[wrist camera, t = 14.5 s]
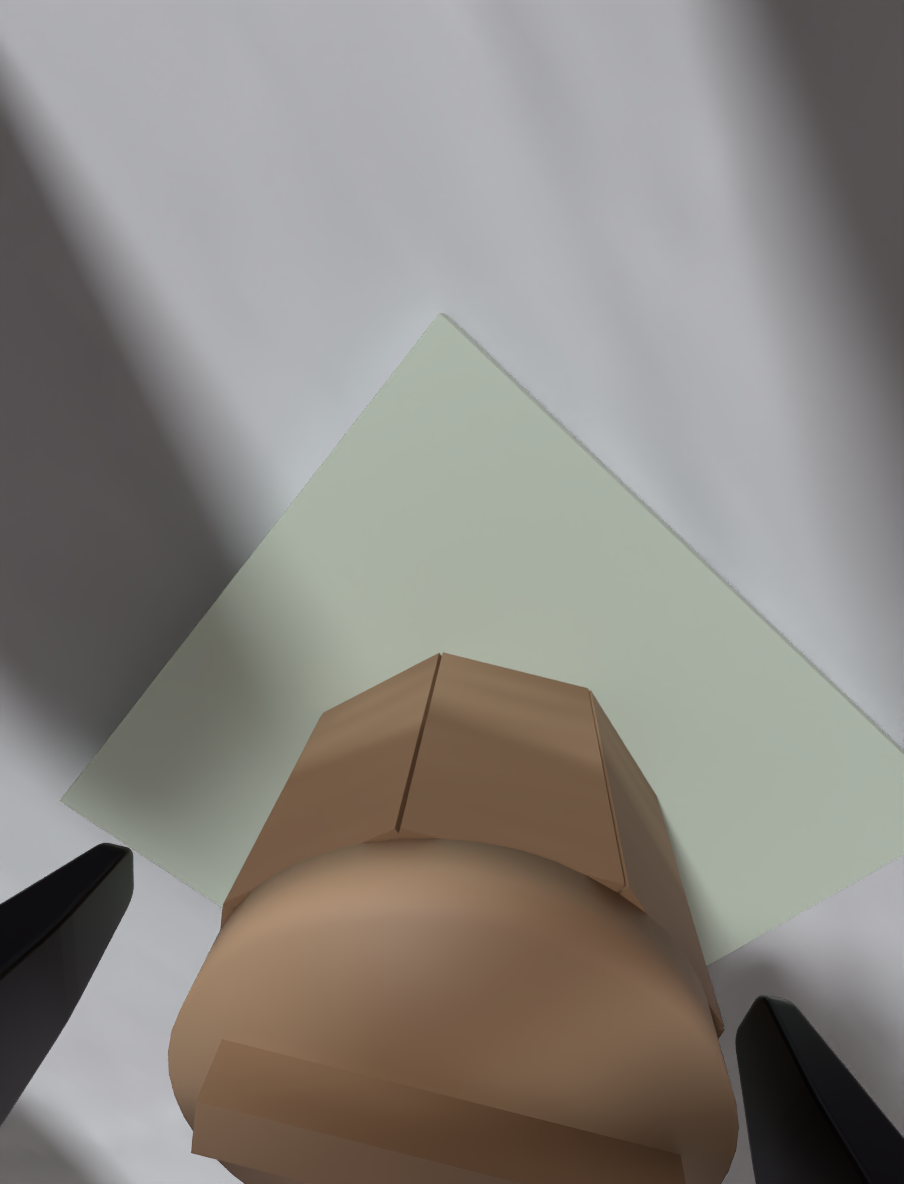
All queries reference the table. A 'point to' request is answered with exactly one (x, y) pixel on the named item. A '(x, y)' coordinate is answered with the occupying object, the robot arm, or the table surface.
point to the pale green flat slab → (505, 654)
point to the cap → (459, 957)
